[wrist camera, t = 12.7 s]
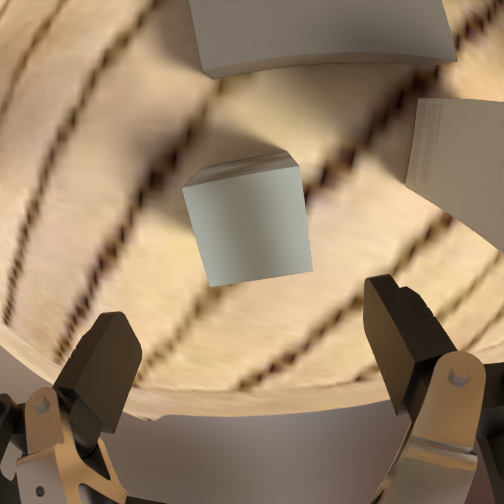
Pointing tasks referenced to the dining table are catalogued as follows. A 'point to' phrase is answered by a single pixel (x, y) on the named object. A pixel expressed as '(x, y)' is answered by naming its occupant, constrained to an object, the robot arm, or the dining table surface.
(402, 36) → the plinth
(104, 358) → the robot arm
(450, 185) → the supplement box
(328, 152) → the dining table surface
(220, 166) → the grey cube
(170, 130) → the dining table surface
